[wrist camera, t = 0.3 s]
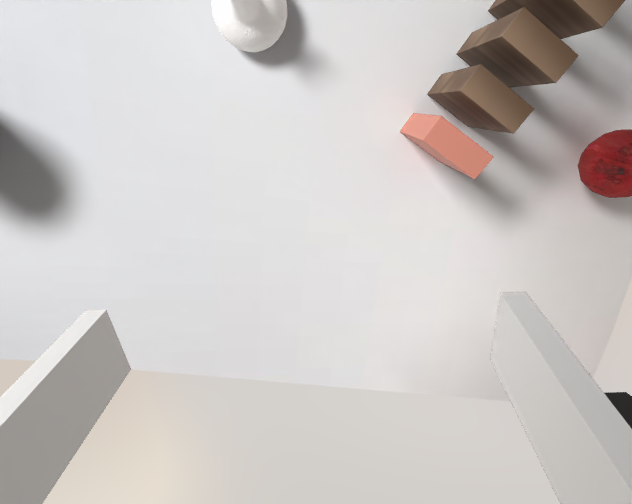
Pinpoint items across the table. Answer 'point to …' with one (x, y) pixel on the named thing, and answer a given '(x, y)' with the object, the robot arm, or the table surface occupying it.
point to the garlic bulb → (250, 22)
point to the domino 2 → (480, 99)
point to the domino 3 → (446, 143)
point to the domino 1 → (518, 50)
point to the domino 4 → (562, 13)
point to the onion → (608, 164)
